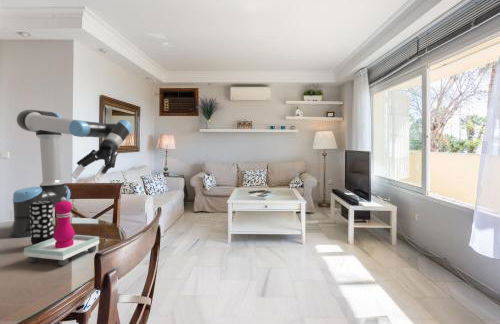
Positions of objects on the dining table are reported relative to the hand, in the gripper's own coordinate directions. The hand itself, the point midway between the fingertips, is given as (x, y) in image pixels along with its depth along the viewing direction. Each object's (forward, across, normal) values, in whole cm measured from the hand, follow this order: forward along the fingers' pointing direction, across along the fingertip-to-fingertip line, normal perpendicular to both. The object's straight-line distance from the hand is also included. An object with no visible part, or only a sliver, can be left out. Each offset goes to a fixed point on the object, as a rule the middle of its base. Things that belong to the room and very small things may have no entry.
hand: (85, 177), depth 122 cm
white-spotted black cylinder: (+26, +20, -19) cm, 38 cm away
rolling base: (+30, -1, -14) cm, 33 cm away
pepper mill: (+27, 0, -11) cm, 29 cm away
